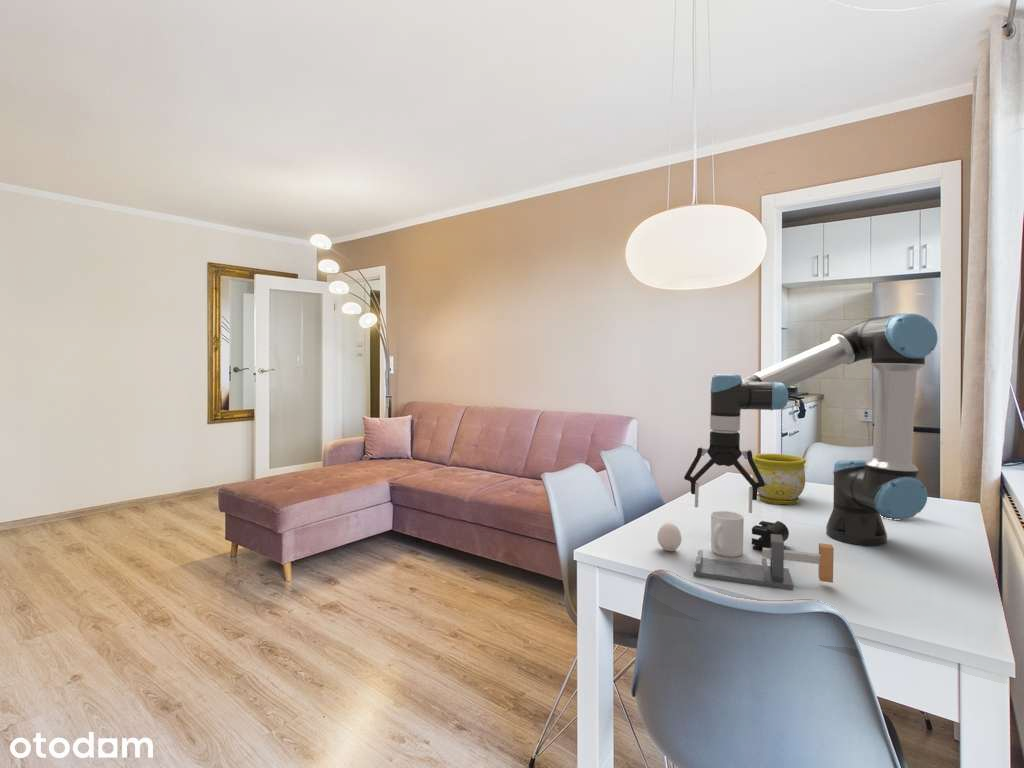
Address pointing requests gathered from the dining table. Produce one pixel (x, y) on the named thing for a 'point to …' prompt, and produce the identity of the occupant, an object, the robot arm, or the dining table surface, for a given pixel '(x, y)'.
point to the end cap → (768, 534)
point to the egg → (669, 536)
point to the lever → (811, 559)
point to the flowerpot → (780, 477)
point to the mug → (727, 533)
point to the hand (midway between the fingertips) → (722, 509)
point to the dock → (748, 569)
